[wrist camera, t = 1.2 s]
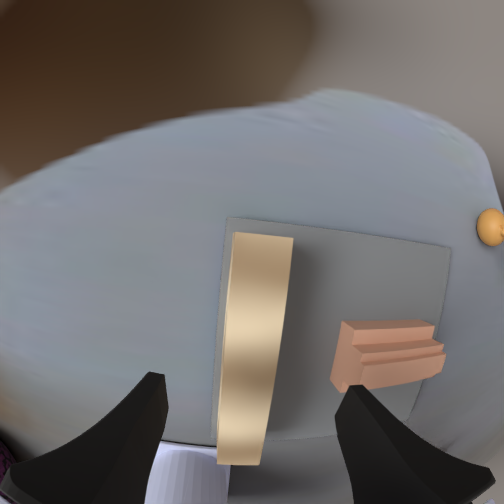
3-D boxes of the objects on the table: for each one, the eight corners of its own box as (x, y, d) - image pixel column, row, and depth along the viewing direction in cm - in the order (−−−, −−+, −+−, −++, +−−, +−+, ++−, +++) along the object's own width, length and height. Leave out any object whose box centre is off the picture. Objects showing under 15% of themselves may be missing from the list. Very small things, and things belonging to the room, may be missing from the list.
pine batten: (253, 433, 19) (259, 465, 15) (216, 431, 18) (216, 464, 14) (278, 237, 18) (293, 237, 14) (233, 233, 18) (235, 231, 14)
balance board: (402, 414, 22) (429, 440, 16) (210, 430, 20) (209, 475, 14) (442, 247, 21) (485, 250, 15) (226, 218, 19) (228, 210, 13)
